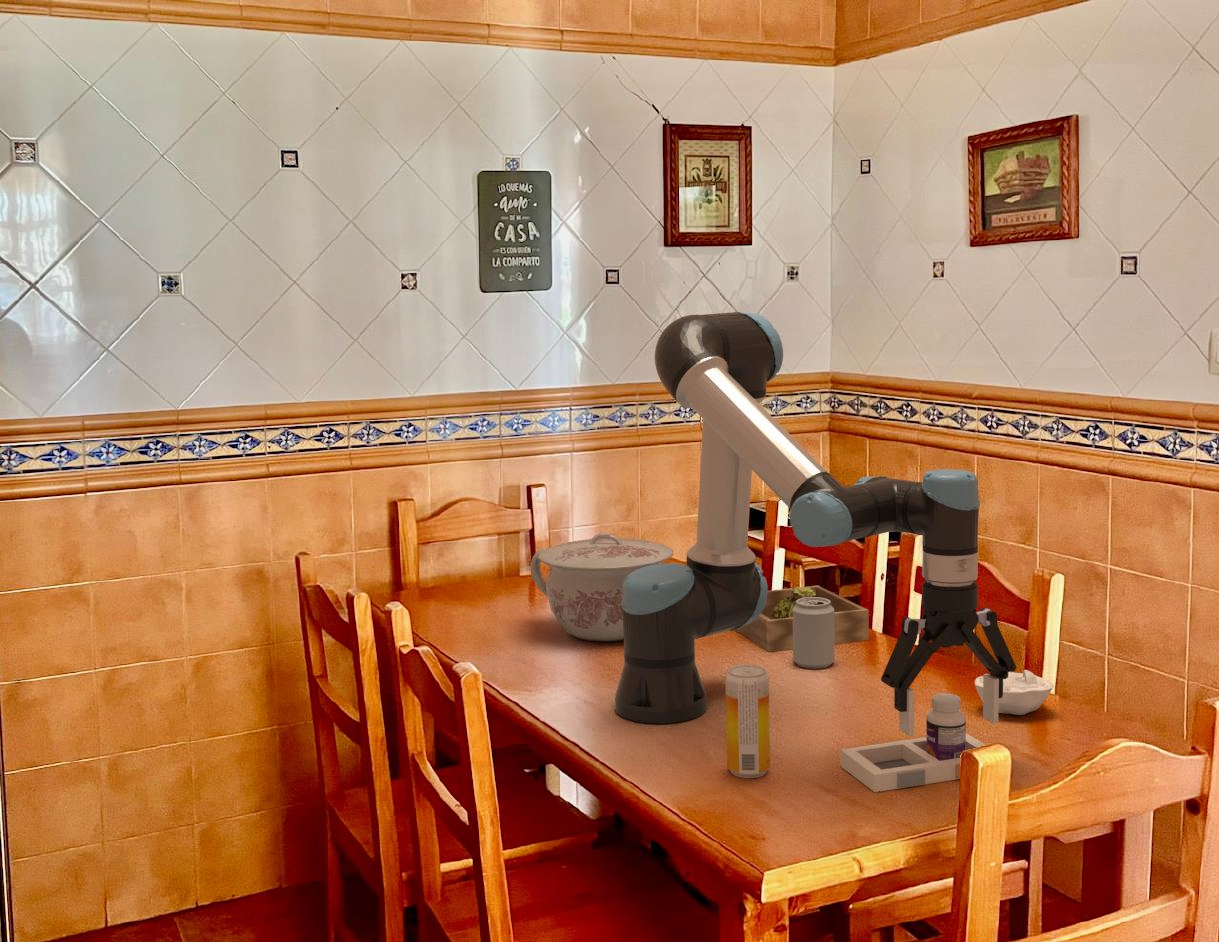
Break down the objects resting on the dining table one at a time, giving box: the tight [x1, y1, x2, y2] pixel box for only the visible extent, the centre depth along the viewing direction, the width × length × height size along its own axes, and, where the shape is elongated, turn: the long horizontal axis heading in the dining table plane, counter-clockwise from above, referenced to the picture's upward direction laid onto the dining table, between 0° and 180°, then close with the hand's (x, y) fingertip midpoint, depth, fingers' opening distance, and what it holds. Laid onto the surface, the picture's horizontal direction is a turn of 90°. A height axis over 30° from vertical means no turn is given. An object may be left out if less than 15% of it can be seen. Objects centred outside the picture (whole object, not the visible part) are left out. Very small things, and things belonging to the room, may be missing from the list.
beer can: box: [724, 664, 771, 779], centre depth 176 cm, size 6×6×15 cm
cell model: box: [974, 669, 1055, 716], centre depth 197 cm, size 10×12×7 cm
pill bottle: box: [925, 692, 967, 761], centre depth 176 cm, size 5×5×10 cm
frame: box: [735, 585, 870, 653], centre depth 247 cm, size 21×22×6 cm
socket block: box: [840, 733, 987, 793], centre depth 175 cm, size 20×10×2 cm, turn 107°
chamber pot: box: [529, 532, 674, 643], centre depth 250 cm, size 28×28×21 cm
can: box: [792, 597, 836, 670], centre depth 225 cm, size 8×8×12 cm
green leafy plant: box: [772, 585, 816, 619], centre depth 246 cm, size 17×16×10 cm
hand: (948, 726), depth 176 cm, fingers open, 13 cm apart
